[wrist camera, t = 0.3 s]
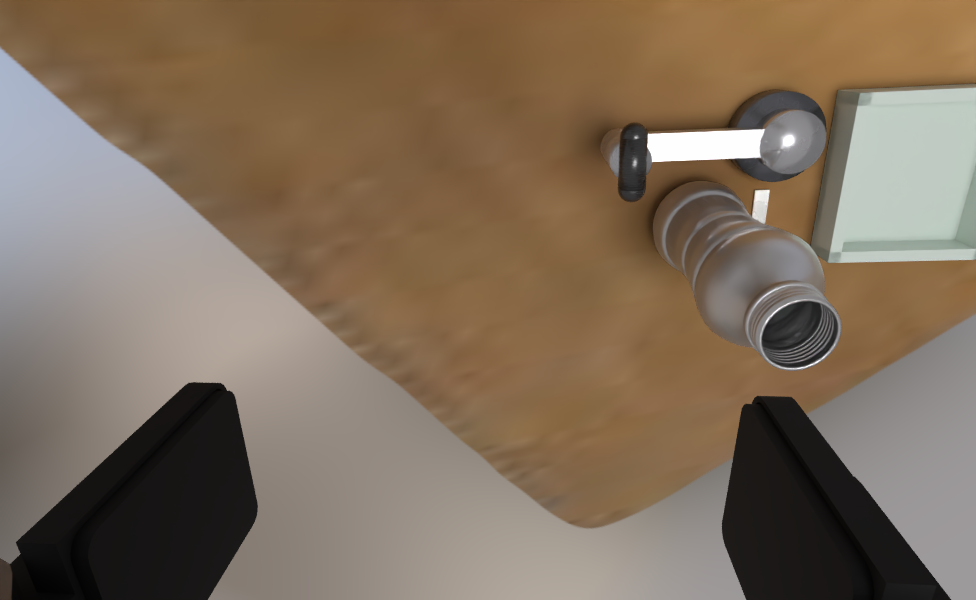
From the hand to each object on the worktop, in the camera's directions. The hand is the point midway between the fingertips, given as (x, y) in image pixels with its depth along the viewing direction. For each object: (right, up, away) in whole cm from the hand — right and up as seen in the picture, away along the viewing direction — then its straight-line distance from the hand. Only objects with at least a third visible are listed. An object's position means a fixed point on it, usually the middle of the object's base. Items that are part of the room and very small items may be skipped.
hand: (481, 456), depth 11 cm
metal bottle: (+16, +9, +34) cm, 39 cm away
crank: (+15, +14, +29) cm, 36 cm away
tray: (+30, +12, +31) cm, 45 cm away
